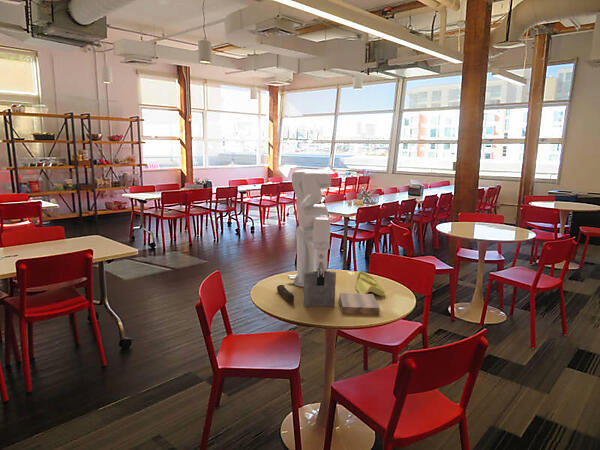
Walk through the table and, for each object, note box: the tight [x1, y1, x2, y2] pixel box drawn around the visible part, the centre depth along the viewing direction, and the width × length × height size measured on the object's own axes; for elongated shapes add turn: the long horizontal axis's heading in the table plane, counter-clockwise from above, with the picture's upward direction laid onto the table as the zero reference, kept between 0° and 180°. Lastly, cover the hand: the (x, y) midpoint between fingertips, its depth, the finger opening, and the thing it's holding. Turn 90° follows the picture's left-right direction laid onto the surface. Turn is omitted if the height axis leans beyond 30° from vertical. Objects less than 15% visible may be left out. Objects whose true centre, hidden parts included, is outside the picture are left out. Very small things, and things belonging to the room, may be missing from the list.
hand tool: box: [276, 284, 295, 306], centre depth 195 cm, size 19×4×5 cm, turn 18°
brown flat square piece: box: [338, 292, 380, 315], centre depth 187 cm, size 16×17×3 cm
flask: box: [303, 270, 337, 308], centre depth 186 cm, size 4×14×18 cm, turn 97°
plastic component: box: [355, 270, 386, 297], centre depth 209 cm, size 20×7×10 cm
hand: (320, 282), depth 185 cm, fingers open, 9 cm apart
